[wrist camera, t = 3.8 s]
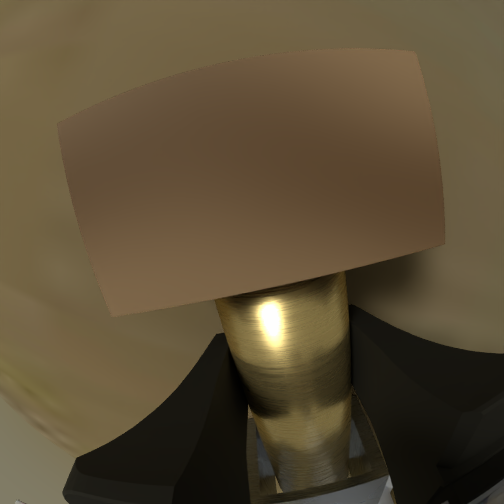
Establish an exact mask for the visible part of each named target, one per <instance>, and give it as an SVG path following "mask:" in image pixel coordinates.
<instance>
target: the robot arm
mask: <svg viewBox="0 0 504 504" xmlns="http://www.w3.org/2000/svg"><path fill="white" fill-rule="evenodd" d="M348 311H349V327H350V349H351V383H352V385H353V387H354V389H355V391H356V393H357V395H358V397H359V399H360V401H361V403H362V405H363V406H364V408H365V410H366V412H367V414H368V416H369V418H370V420H371V422H372V425H373V427H374V429H375V432H376V435H377V438H378V441H379V443H380V446H381V449H382V452H383V455H384V459H385V462H386V465H387V468H388V472H389V478H388V480H387V483H386V486H385V488H384V491H383V493H382V496H381V498H380V501H379V503H378V504H394V502H393V500H392V497H391V494H390V492H391V490H392V488H393V490H394V494H395V499H396V503H397V504H481V503H482V504H504V354H496V353H484V352H475V351H468V350H463V349H458V348H453V347H449V346H445V345H441V344H438V343H435V342H431V341H428V340H425V339H422V338H420V337H417V336H414V335H412V334H410V333H407V332H405V331H403V330H400V329H398V328H396V327H394V326H392V325H390V324H388V323H386V322H384V321H382V320H380V319H378V318H376V317H375V316H373V315H371V314H369V313H367V312H366V311H364V310H362V309H360V308H358V307H356V306H354V305H352V304H351V305H348ZM247 421H248V401H247V399H246V396H245V393H244V390H243V387H242V384H241V381H240V378H239V375H238V372H237V369H236V366H235V363H234V360H233V357H232V354H231V351H230V348H229V345H228V342H227V339H226V336H225V333H220V334H216V335H215V337H214V338H213V339H212V341H211V342H210V344H209V345H208V347H207V348H206V350H205V352H204V353H203V355H202V356H201V357H200V359H199V360H198V362H197V363H196V365H195V366H194V367H193V369H192V370H191V371H190V373H189V374H188V375H187V376H186V378H185V379H184V380H183V381H182V383H181V384H180V385H179V386H178V388H177V389H176V390H175V391H174V392H173V393H172V394H171V395H170V396H169V397H168V398H167V399H166V400H165V401H164V402H163V403H162V404H161V405H160V406H159V407H158V408H157V409H155V410H154V411H153V412H152V413H151V414H149V415H148V416H147V417H146V418H144V419H143V420H142V421H141V422H139V423H138V424H137V425H136V426H134V427H133V428H131V429H130V430H128V431H127V432H125V433H124V434H122V435H121V436H119V437H117V438H116V439H114V440H112V441H111V442H109V443H107V444H105V445H103V446H101V447H99V448H97V449H95V450H93V451H91V452H89V453H86V454H84V455H82V456H80V457H77V458H76V460H75V463H74V465H73V467H72V470H71V472H70V474H69V477H68V479H67V482H66V484H65V487H64V489H63V496H64V498H65V500H66V501H67V502H68V503H69V504H251V500H250V490H249V481H248V469H247V454H246V445H247ZM15 504H26V503H24V502H22V501H20V500H16V502H15Z"/></svg>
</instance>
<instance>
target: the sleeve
mask: <svg viewBox="0 0 504 504" xmlns="http://www.w3.org/2000/svg"><path fill="white" fill-rule="evenodd" d="M246 454H247V469H248V481H249V490H250V500H251V504H378V503H379V501H380V498H381V496H382V493H383V491H384V488H385V486H386V483H387V480H388V478H389V472H388V469H387V467H386V464H385V462H384V460H383V457H382V455H381V452H380V450H379V448H378V445H377V443H376V440H375V438H374V436H373V433H372V431H371V429H370V426H369V424H368V422H367V419H366V417H365V415H364V413H363V410H362V408H361V406H360V403H359V401H358V399H357V397H356V395H354V396H351V434H350V454H349V470H350V474H351V478H348V479H344V480H340V481H337V482H333V483H329V484H325V485H320V486H316V487H311V488H307V489H301V490H296V491H290V492H284V493H278V494H277V490H276V480H275V473H274V471H273V468H272V466H271V463H270V461H269V458H268V455H267V453H266V450H265V448H264V445H263V442H262V440H261V437H260V434H259V432H258V429H257V426H256V424H255V421H254V418H251V419H248V421H247V445H246Z"/></svg>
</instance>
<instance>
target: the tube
mask: <svg viewBox="0 0 504 504" xmlns="http://www.w3.org/2000/svg"><path fill="white" fill-rule="evenodd" d="M214 300H215V303H216V307H217V310H218V313H219V316H220V320H221V323H222V326H223V329H224V332H225V336H226V339H227V342H228V345H229V348H230V351H231V354H232V357H233V360H234V363H235V366H236V369H237V372H238V375H239V378H240V381H241V384H242V387H243V390H244V393H245V396H246V399H247V401H248V404H249V407H250V410H251V413H252V415H253V418H254V421H255V424H256V426H257V429H258V432H259V434H260V437H261V440H262V442H263V445H264V448H265V450H266V453H267V455H268V458H269V461H270V463H271V466H272V468H273V471H274V473H275V476H276V478H277V481H278V483H279V486H280V488H281V489H282V491H283V492H290V491H296V490H301V489H307V488H311V487H316V486H320V485H325V484H329V483H333V482H337V481H340V480H344V479H347V477H348V468H349V454H350V434H351V349H350V327H349V311H348V298H347V286H346V275H345V271H341V272H337V273H333V274H328V275H324V276H320V277H316V278H311V279H307V280H303V281H298V282H294V283H289V284H285V285H280V286H276V287H271V288H266V289H262V290H257V291H252V292H247V293H242V294H237V295H233V296H228V297H223V298H217V299H214Z"/></svg>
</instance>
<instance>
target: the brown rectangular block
mask: <svg viewBox="0 0 504 504" xmlns="http://www.w3.org/2000/svg"><path fill="white" fill-rule="evenodd" d="M57 128H58V135H59V141H60V147H61V153H62V158H63V163H64V168H65V173H66V178H67V182H68V187H69V191H70V195H71V199H72V203H73V207H74V210H75V214H76V218H77V221H78V225H79V228H80V232H81V235H82V238H83V241H84V244H85V247H86V251H87V254H88V257H89V259H90V262H91V265H92V268H93V271H94V274H95V276H96V279H97V282H98V284H99V287H100V289H101V292H102V294H103V297H104V299H105V302H106V304H107V307H108V309H109V311H110V314H111V316H112V317H116V316H122V315H128V314H135V313H141V312H146V311H152V310H158V309H164V308H169V307H175V306H181V305H186V304H191V303H197V302H202V301H207V300H212V299H217V298H223V297H228V296H233V295H237V294H242V293H247V292H252V291H257V290H262V289H266V288H271V287H276V286H280V285H285V284H289V283H294V282H298V281H303V280H307V279H311V278H316V277H320V276H324V275H328V274H333V273H337V272H341V271H345V270H349V269H353V268H357V267H361V266H365V265H369V264H373V263H377V262H381V261H385V260H389V259H393V258H396V257H400V256H404V255H408V254H411V253H415V252H419V251H422V250H426V249H430V248H433V247H437V246H440V245H444V244H445V218H444V198H443V186H442V175H441V166H440V158H439V151H438V145H437V138H436V133H435V127H434V122H433V117H432V112H431V107H430V103H429V99H428V95H427V91H426V87H425V83H424V79H423V76H422V72H421V69H420V65H419V62H418V59H417V56H416V53H415V52H413V51H403V50H389V49H362V48H347V49H319V50H305V51H294V52H284V53H276V54H269V55H262V56H256V57H250V58H244V59H238V60H233V61H228V62H224V63H219V64H215V65H210V66H206V67H202V68H198V69H194V70H191V71H187V72H183V73H180V74H176V75H173V76H170V77H167V78H163V79H160V80H157V81H154V82H151V83H148V84H145V85H143V86H140V87H137V88H134V89H132V90H129V91H127V92H124V93H121V94H119V95H116V96H114V97H112V98H109V99H107V100H105V101H102V102H100V103H98V104H95V105H93V106H91V107H89V108H87V109H85V110H83V111H81V112H78V113H76V114H74V115H72V116H70V117H69V118H67V119H65V120H63V121H61V122H59V123H57Z"/></svg>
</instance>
